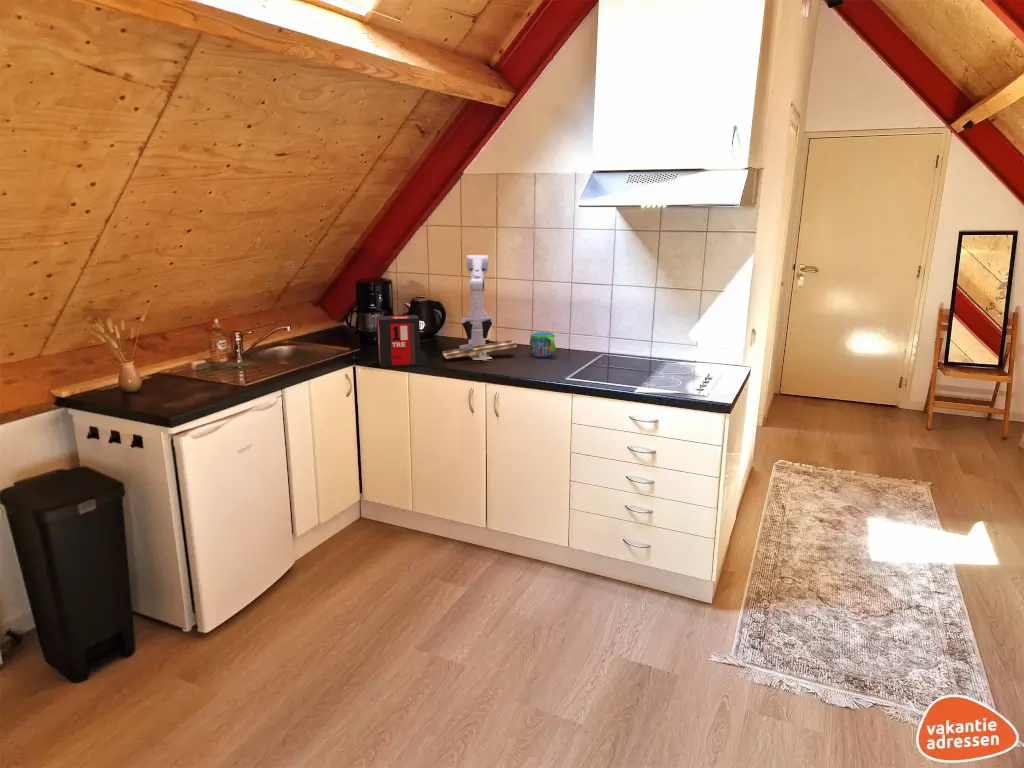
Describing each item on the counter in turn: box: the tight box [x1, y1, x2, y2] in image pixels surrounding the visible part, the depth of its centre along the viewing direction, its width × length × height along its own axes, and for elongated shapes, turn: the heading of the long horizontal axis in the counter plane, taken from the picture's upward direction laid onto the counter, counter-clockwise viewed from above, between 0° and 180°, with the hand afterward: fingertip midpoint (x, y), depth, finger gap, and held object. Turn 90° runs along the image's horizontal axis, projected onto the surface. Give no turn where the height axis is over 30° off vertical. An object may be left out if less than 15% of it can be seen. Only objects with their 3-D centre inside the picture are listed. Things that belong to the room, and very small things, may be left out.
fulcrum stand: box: [467, 352, 493, 361], centre depth 295 cm, size 11×8×4 cm
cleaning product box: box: [376, 314, 421, 368], centre depth 280 cm, size 16×9×20 cm, turn 105°
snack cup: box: [528, 331, 556, 358], centre depth 299 cm, size 16×10×10 cm
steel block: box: [459, 343, 474, 352], centre depth 292 cm, size 5×5×2 cm
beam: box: [442, 339, 518, 360], centre depth 294 cm, size 32×7×2 cm, turn 108°
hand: (477, 338), depth 284 cm, fingers open, 7 cm apart
